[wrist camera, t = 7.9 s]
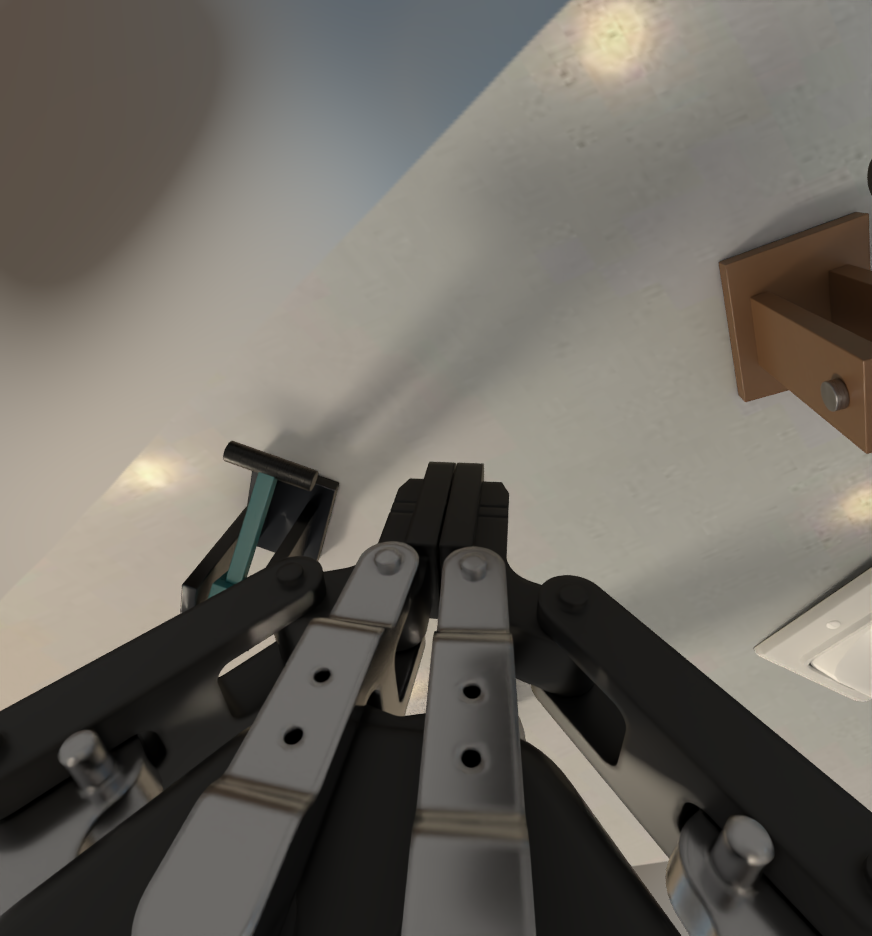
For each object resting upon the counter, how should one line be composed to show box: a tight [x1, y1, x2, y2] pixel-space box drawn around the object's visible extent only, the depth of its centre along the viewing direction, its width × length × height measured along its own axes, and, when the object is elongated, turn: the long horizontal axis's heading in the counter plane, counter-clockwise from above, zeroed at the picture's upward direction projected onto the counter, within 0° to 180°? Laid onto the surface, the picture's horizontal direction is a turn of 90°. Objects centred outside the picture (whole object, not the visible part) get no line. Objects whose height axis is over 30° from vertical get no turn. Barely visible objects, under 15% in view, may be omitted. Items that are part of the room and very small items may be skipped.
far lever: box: [208, 441, 318, 599], centre depth 34 cm, size 12×6×2 cm, turn 162°
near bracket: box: [719, 212, 872, 454], centre depth 25 cm, size 9×7×13 cm
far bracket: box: [180, 471, 339, 651], centre depth 39 cm, size 9×7×13 cm
